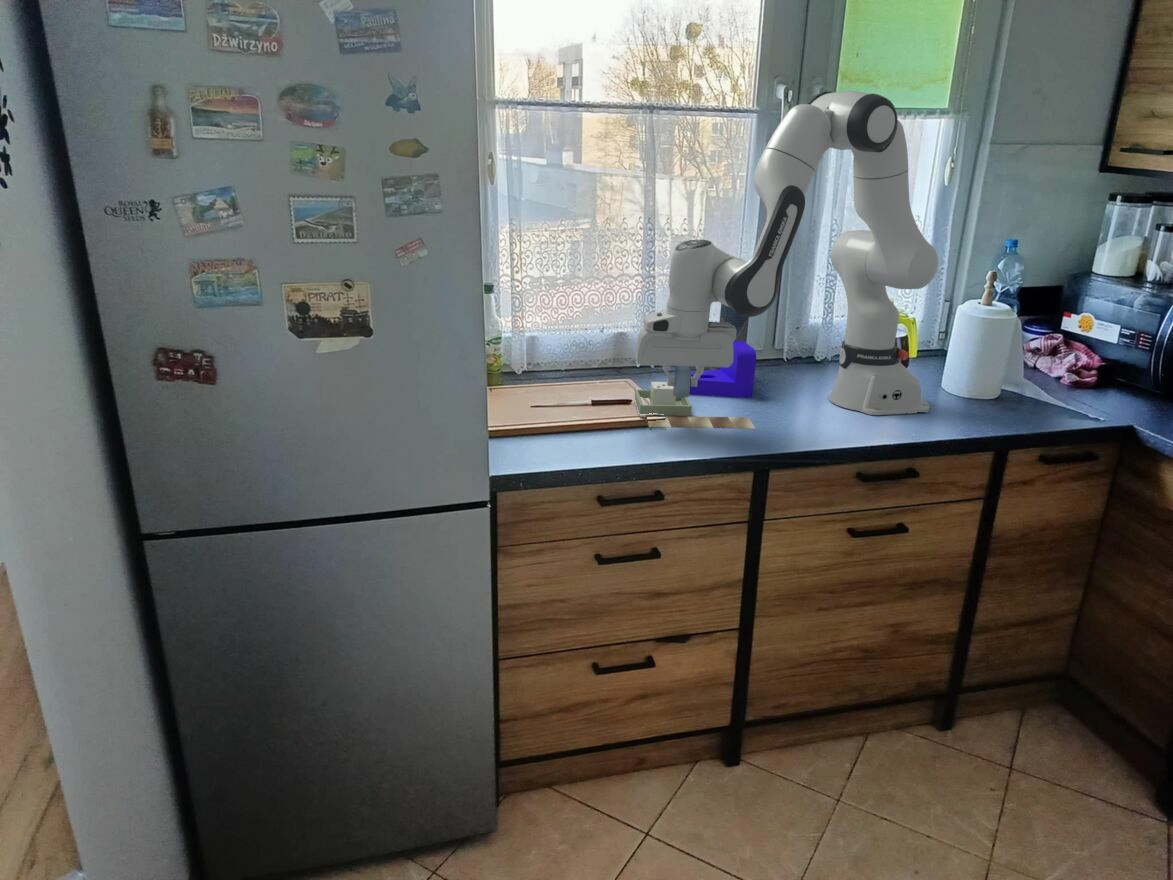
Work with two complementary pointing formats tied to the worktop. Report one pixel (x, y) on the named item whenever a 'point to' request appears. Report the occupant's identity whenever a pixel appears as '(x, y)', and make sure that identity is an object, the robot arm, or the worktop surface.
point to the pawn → (682, 381)
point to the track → (703, 422)
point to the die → (661, 394)
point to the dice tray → (679, 409)
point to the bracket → (730, 375)
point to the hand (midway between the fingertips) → (681, 385)
